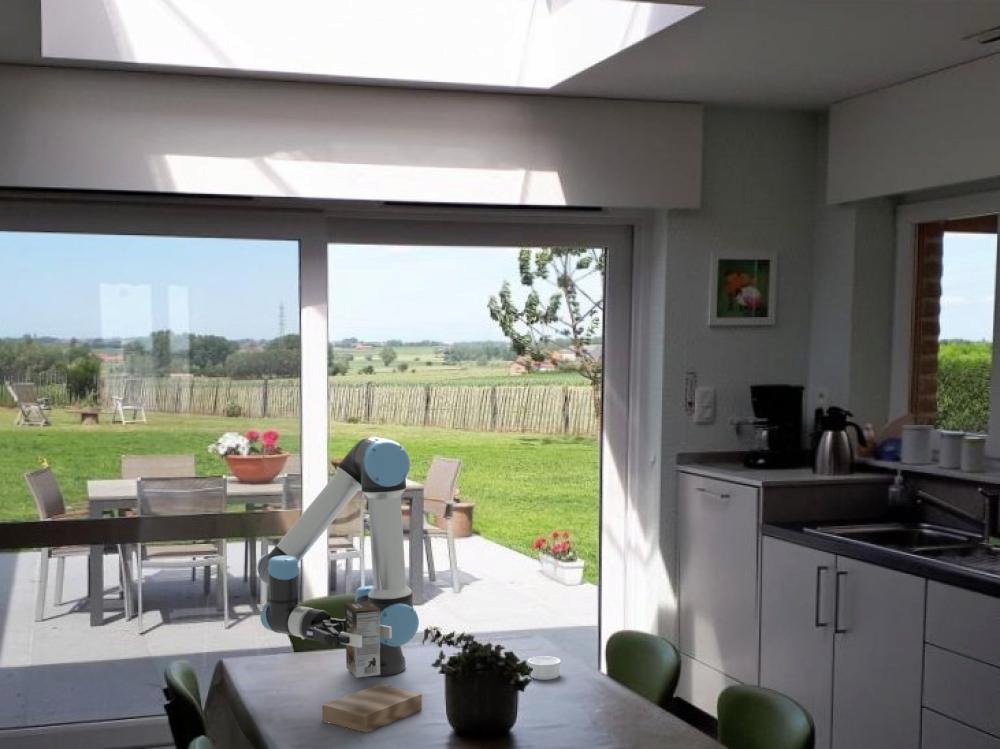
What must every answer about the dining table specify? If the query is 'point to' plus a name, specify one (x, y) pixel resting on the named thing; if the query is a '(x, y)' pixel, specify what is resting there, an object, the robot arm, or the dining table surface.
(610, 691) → the dining table surface
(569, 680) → the dining table surface
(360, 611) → the coffee box
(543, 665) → the ramekin
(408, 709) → the riser
